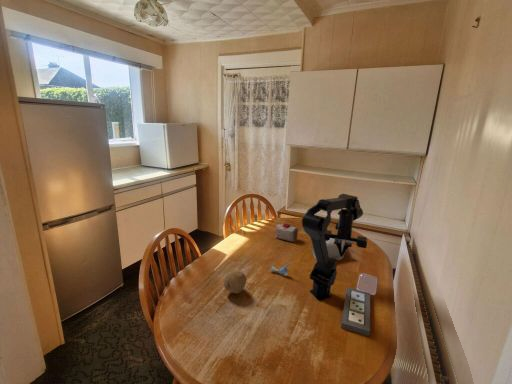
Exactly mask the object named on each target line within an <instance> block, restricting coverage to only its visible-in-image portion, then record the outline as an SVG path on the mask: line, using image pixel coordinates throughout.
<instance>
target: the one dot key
mask: <svg viewBox="0 0 512 384" xmlns="http://www.w3.org/2000/svg"><path fill="white" fill-rule="evenodd" d="M350 299H352V300H356V301H360V302H363V303H365V294H363V293H359V292H355V291H352V292H351V295H350Z"/></svg>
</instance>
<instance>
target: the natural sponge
mask: <svg viewBox="0 0 512 384" xmlns="http://www.w3.org/2000/svg"><path fill="white" fill-rule="evenodd" d="M246 284H247V276H246V275H245V273H244V272H242V271H241V270H237V269H236V270H235V269H232V270H231V271H229V272H228V273H227V274H226V276H225V278H224V280H223V286H224V289H225V290H227V291H228V292H229V291H230V292H231V293H233V294H236V295H237V294H240V293H241V292H243V290H245V286H246Z"/></svg>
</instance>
